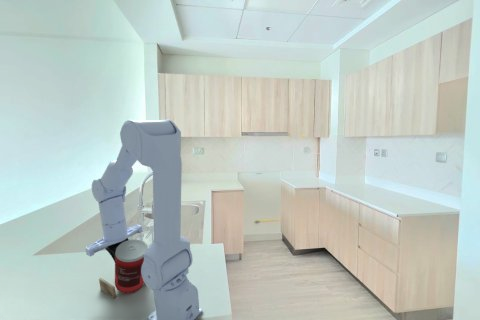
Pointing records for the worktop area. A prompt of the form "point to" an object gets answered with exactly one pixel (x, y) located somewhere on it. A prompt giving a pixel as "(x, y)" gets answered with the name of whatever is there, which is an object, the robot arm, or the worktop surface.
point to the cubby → (107, 287)
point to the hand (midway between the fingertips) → (120, 266)
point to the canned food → (129, 265)
